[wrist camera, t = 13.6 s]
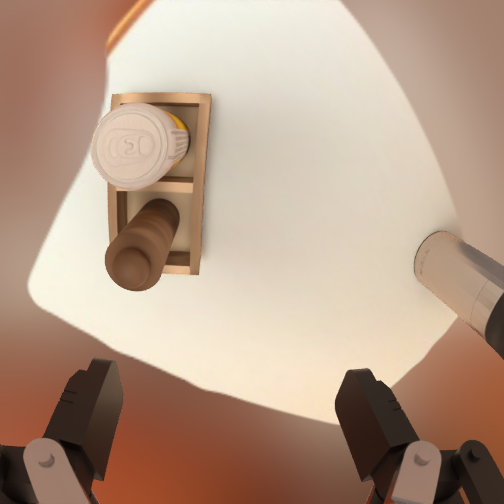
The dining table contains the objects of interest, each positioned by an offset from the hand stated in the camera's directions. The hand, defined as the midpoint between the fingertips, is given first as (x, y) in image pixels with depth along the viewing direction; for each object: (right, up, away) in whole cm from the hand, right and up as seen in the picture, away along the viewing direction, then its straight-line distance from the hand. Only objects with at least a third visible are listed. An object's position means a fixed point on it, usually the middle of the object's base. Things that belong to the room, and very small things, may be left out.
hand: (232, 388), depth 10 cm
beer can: (-9, +17, +22) cm, 29 cm away
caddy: (-10, +13, +24) cm, 29 cm away
